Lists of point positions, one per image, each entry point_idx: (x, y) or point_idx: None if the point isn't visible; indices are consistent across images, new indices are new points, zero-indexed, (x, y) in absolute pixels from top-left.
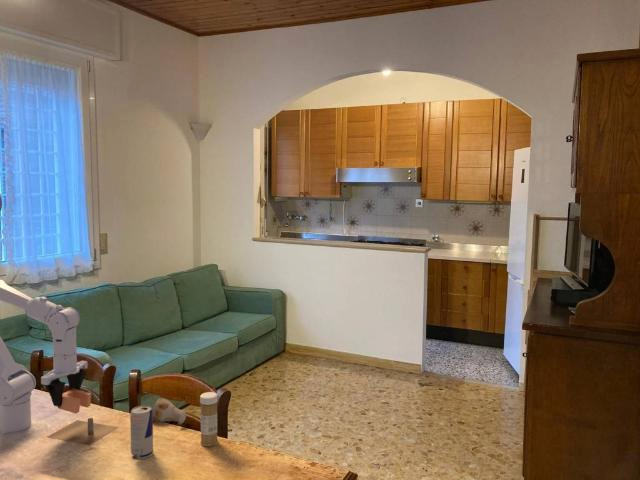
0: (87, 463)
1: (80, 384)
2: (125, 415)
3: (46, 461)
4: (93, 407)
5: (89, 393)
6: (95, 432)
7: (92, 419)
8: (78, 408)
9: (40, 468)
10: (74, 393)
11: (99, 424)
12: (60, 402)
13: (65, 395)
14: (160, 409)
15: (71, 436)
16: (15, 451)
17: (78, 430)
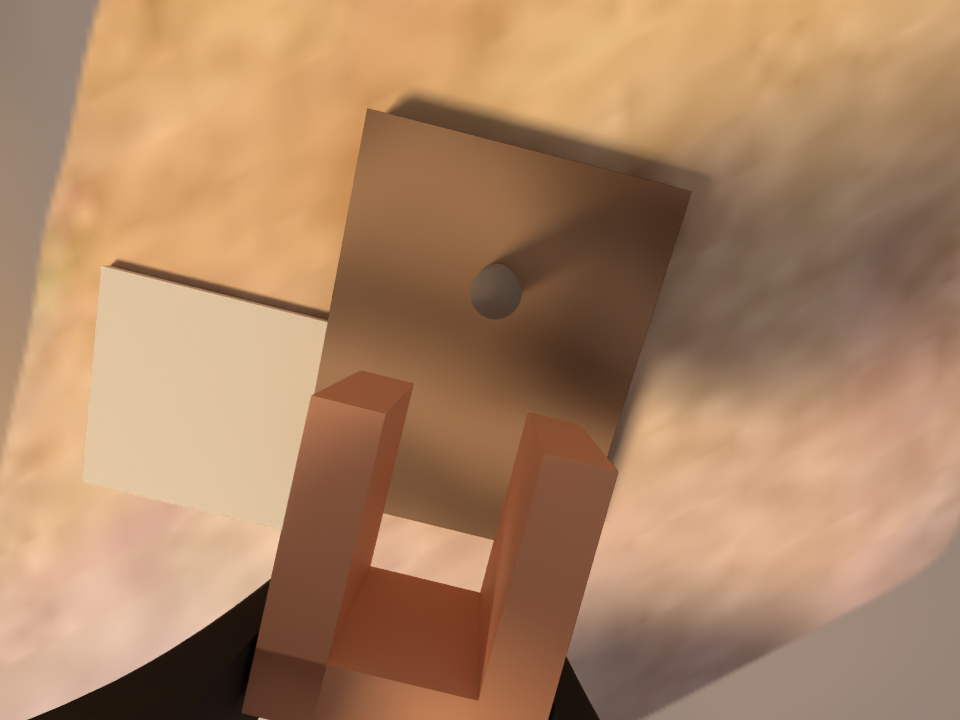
0: (860, 118)
1: (172, 674)
2: (88, 203)
3: (817, 409)
4: (24, 505)
5: (320, 420)
6: (479, 253)
7: (503, 268)
8: (549, 425)
9: (906, 398)
10: (338, 631)
11: (341, 291)
12: (566, 669)
13: (501, 698)
14: None
15: (556, 399)
16: (686, 646)
17: (459, 398)
